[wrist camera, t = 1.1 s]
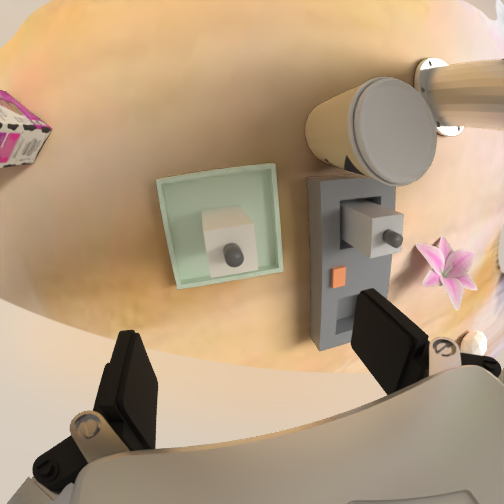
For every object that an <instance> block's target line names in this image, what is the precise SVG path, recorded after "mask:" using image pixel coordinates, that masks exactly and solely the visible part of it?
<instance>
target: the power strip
mask: <svg viewBox="0 0 504 504" xmlns="http://www.w3.org/2000/svg"><path fill="white" fill-rule="evenodd" d="M395 189H396V186H389V185H386V184H383V183H381V182H379V181H377V180H375V179H373V178H369V177H366V176H363V175H360V174H347V175H331V176H318V177H307V190H308V209H309V234H310V284H311V307H310V337H311V338H312V340H313V342H314V343H315V345H316V347H317V348H318V350H319V351H323V350H326V349H329V348H333V347H336V346H340V345H343V344H346V343H349V342H351V337H352V330H353V323H354V316H355V309H356V300H357V296H358V295H359V294H360V292H361V291H362V290H366V289H370V288H374V289H375V290H376V291H378V292H379V293H380V294H381V295H382V296H384V297H385V298H386V299H387V293H388V286H389V278H390V270H391V260H392V254H388V255H384V256H379V257H374V258H369V257H368V256H366V255H365V254H363V253H362V252H360V251H359V250H357V249H356V248H354V247H353V246H351V245H350V244H348V243H347V242H345V241H344V240H342V239H341V238H340V201H344V200H353V199H364V200H367V201H370V202H373V203H376V204H378V205H381V206H384V207H387V208H389V209H392V210H394V211H395Z"/></svg>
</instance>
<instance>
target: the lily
mask: <svg viewBox="0 0 504 504" xmlns="http://www.w3.org/2000/svg"><path fill="white" fill-rule="evenodd" d="M415 245H416V247H417V249H418V250H419V251H420V252H421V254H422V255H423V256H424V257H425V259H426V260H427V261H428V263H429V264H430V265H431V267H432V269H431V270H430V271H429V272H428V274H427V276H426V277H425V279H424V281H423V283H422V286H423V287H435V286H442V285H443V286H444V288H445V290H446V292H447V294H448V296H449V298H450V300H451V302H452V305H453V307H454V308H455V310H458V309H459V307H460V304H461V301H462V296H463V288H467V289H471V290H476V291H477V290H478V288H477V286H476V284H475V282H474V281H473V279H472V278H471V277H470V276H469V274H468V273H467V271H468V270H469V269H470V267H471V265H472V263H473V260H474V257H475V252H474V251H473V250H468V249H461V250H456V251H454V252H453V250H452V248H451V246H450V244H449V243H448V241H447V240H446V238H445V237H444V236H441V239H440V244H439V249H438V248H437V247H435V246H432V245H428V244H423V243H417V244H415Z"/></svg>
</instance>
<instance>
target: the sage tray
mask: <svg viewBox="0 0 504 504" xmlns="http://www.w3.org/2000/svg"><path fill="white" fill-rule="evenodd" d="M156 185H157V191H158V197H159V203H160V209H161V214H162V220H163V225H164V230H165V235H166V240H167V245H168V250H169V254H170V259H171V263H172V268H173V272H174V276H175V281H176V285H177V289H178V290H179V289H185V288H191V287H197V286H203V285H209V284H215V283H221V282H227V281H233V280H238V279H244V278H250V277H255V276H261V275H266V274H272V273H277V272H283V256H282V241H281V226H280V213H279V200H278V188H277V176H276V164H275V163H263V164H253V165H245V166H236V167H228V168H221V169H214V170H207V171H200V172H194V173H188V174H182V175H176V176H170V177H165V178H159V179H157V180H156ZM232 205H240V207H241V208H242V209H243V210H244V212H245V213H246V214H247V215H248V217H249V218H250V219H251V220H252V221H253V223H254V228H255V238H256V248H257V257H258V267H259V270H255V271H249V272H243V273H238V274H232V275H226V276H220V277H214V278H211V275H210V270H209V264H208V258H207V252H206V246H205V240H204V234H203V226H202V215H201V210H206V209H213V208H219V207H226V206H232Z"/></svg>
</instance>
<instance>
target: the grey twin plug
mask: <svg viewBox="0 0 504 504" xmlns="http://www.w3.org/2000/svg"><path fill="white" fill-rule="evenodd" d="M403 216H404V214H402V213H400V212H397V211H394V210H392V209H389V208H387V207H384V206H381V205H378V204H376V203H373V202H370V201H367V200H364V199H353V200H344V201H340V238H341V239H342V240H344V241H345V242H347V243H348V244H350V245H351V246H353V247H354V248H356V249H357V250H359V251H360V252H362V253H363V254H365V255H366V256H368V257H369V258H374V257H379V256H384V255H388V254H393V253H397V252H401V244H402V242H403V237H402V231H403Z"/></svg>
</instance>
